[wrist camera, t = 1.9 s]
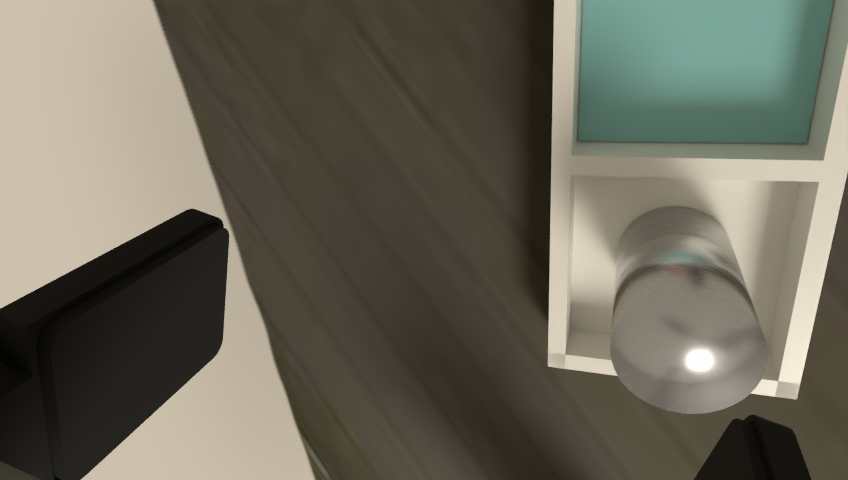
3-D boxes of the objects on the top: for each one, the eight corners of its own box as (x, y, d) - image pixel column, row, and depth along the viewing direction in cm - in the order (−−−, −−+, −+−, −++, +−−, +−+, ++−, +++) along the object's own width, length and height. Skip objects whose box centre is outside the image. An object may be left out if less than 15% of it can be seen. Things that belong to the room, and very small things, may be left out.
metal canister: (740, 208, 31) (779, 299, 22) (724, 307, 33) (755, 424, 24) (620, 203, 33) (614, 284, 24) (614, 297, 35) (606, 402, 26)
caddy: (883, -143, 24) (922, -162, 21) (781, 358, 34) (796, 399, 31) (565, -104, 28) (556, -115, 25) (555, 333, 38) (547, 366, 35)
